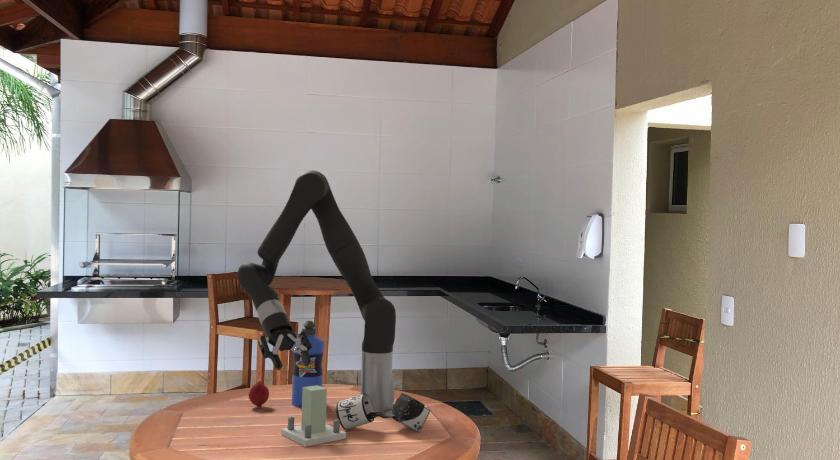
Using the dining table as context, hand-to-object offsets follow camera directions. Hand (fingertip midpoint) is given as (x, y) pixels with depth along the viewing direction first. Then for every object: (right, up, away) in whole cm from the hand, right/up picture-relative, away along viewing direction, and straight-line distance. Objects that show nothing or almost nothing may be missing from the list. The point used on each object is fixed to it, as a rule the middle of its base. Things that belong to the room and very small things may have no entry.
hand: (294, 366), depth 199 cm
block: (+7, -15, -11) cm, 19 cm away
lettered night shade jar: (+23, -17, -2) cm, 29 cm away
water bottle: (0, -16, +23) cm, 28 cm away
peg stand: (+7, -16, -11) cm, 20 cm away
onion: (-13, -15, +17) cm, 26 cm away
